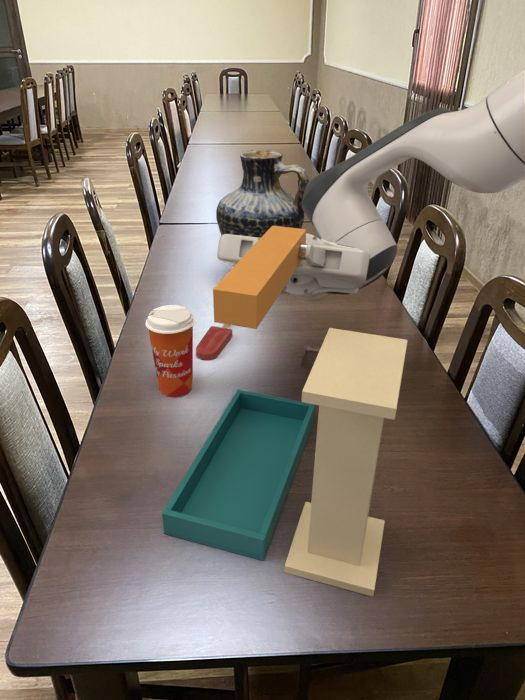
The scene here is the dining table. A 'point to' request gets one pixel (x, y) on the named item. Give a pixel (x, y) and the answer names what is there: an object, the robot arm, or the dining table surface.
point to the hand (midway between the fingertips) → (281, 247)
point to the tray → (242, 475)
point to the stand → (346, 458)
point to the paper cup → (172, 348)
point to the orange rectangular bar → (258, 278)
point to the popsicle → (213, 342)
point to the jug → (262, 197)
